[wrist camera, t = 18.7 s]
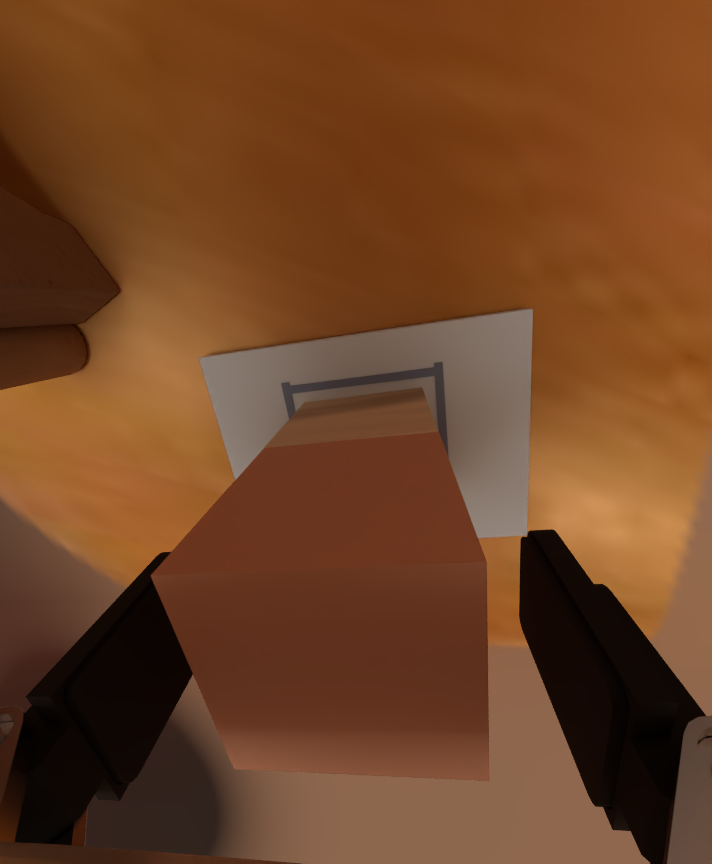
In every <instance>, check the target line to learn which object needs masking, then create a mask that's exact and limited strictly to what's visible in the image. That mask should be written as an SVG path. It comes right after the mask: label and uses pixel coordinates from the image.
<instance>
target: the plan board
mask: <svg viewBox="0 0 712 864" xmlns="http://www.w3.org/2000/svg"><path fill="white" fill-rule="evenodd" d="M532 325H533V309H527V308H524V309H517V310H511V311H504V312H497V313H490V314H484V315H477V316H470V317H463V318H457V319H450V320H443V321H436V322H430V323H423V324H416V325H409V326H403V327H396V328H389V329H382V330H375V331H369V332H362V333H355V334H348V335H342V336H335V337H328V338H321V339H315V340H308V341H301V342H294V343H288V344H281V345H274V346H267V347H261V348H254V349H247V350H240V351H234V352H227V353H220V354H213V355H207V356H204V357H200V358H199V361H200V365H201V368H202V371H203V375H204V378H205V381H206V385H207V388H208V391H209V394H210V398H211V401H212V404H213V408H214V411H215V414H216V418H217V421H218V424H219V428H220V431H221V434H222V438H223V441H224V444H225V448H226V451H227V454H228V458H229V461H230V464H231V468H232V471H233V474H234V477H235V480H236V479H237V478H238V477H239V476H240V474H241V473H242V472H243V471H244V470H245V469H246V468H247V467H248V465H249V464H250V463H251V462H252V461H253V460H254V459H255V458H256V457H257V455H258V454H259V453H260V452H261V451H262V450H263V448H264V447H265V446H266V445H267V444H268V442H269V441H270V440H271V439H272V438H273V437H274V436H275V435H276V433H277V432H278V431H279V430H280V429H281V428H282V427H283V426H284V425H285V423H286V422H287V421H288V420H289V419H290V418H291V417H292V416H293V414H294V413H295V412H296V411H297V410H298V409H299V408H300V407H301V405H302V404H303V403H304V402H312V401H319V400H327V399H335V398H343V397H350V396H358V395H366V394H374V393H381V392H389V391H397V390H405V389H412V388H420V387H422V388H423V391H424V394H425V397H426V399H427V402H428V405H429V408H430V411H431V413H432V416H433V419H434V422H435V424H436V427H437V432H439V433H440V436H441V439H442V442H443V444H444V447H445V450H446V453H447V455H448V458H449V461H450V464H451V466H452V469H453V472H454V474H455V477H456V480H457V483H458V485H459V488H460V491H461V494H462V496H463V499H464V502H465V505H466V507H467V510H468V513H469V515H470V518H471V521H472V524H473V526H474V529H475V532H476V535H477V537H478V538H489V537H506V536H524V535H527V519H528V480H529V442H530V403H531V364H532Z"/></svg>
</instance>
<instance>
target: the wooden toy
mask: <svg viewBox="0 0 712 864" xmlns="http://www.w3.org/2000/svg"><path fill="white" fill-rule="evenodd" d="M118 292H119V289H118V287H117V285H116V284H115V283H114V281H113V280H112V279H111V277H110V276H109V275H108V273H107V272H106V271H105V269H104V268H103V267H102V265H101V264H100V263H99V261H98V260H97V259H96V257H95V256H94V255H93V253H92V252H91V251H90V249H89V248H88V247H87V245H86V244H85V243H84V241H83V240H82V239H81V237H80V236H79V235H78V233H77V232H76V231H75V229H74V228H73V227H72V226H71V225H70V224H68V223H67V222H64V221H61V220H59V219H56V218H54V217H51V216H49V215H46V214H44V213H42V212H41V211H39V210H37V209H36V208H34V207H33V206H31V205H29V204H28V203H26V202H25V201H23V200H21V199H20V198H18V197H17V196H15V195H13V194H12V193H10V192H9V191H7V190H6V189H4V188H3V187H2V186H1V185H0V390H2V389H7V388H11V387H16V386H21V385H25V384H30V383H34V382H39V381H43V380H48V379H52V378H57V377H62V376H66V375H71V374H73V373H75V372H77V371H79V370H80V369H81V367H82V366H83V365H84V364H85V361H86V358H87V347H86V344H85V341H84V339H83V337H82V336H81V334H80V332H79V331H78V330H77V329H76V328H75V327H74V326H73V325H72V324H76V323H83V322H84V321H85V320H87V319H88V318H89V317H90V316H91V315H93V314H94V313H95V312H96V311H97V310H98V309H100V308H101V307H102V306H103V305H104V304H106V303H107V302H108V301H109V300H110V299H112V298H113V297H114V296H115V295H116V294H117V293H118Z"/></svg>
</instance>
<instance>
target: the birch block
mask: <svg viewBox="0 0 712 864" xmlns="http://www.w3.org/2000/svg"><path fill="white" fill-rule="evenodd" d="M429 432H437V427H436V424H435V422H434V419H433V416H432V413H431V411H430V408H429V405H428V402H427V399H426V397H425V394H424V391H423V388H422V387H420V388H412V389H405V390H397V391H389V392H381V393H374V394H366V395H358V396H350V397H343V398H335V399H327V400H319V401H312V402H304V403H303V404H302V405H301V407H300V408H299V409H298V410H297V411H296V412H295V413H294V414H293V416H292V417H291V418H290V419H289V420H288V421H287V422H286V423H285V425H284V426H283V427H282V428H281V429H280V430H279V431H278V432H277V433H276V435H275V436H274V437H273V438H272V439H271V440H270V441H269V442H268V444H267V445H266V446H265V447H264V448H270V447H281V446H291V445H302V444H312V443H323V442H334V441H344V440H355V439H365V438H376V437H387V436H397V435H408V434H418V433H429ZM264 448H263V449H264Z"/></svg>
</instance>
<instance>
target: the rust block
mask: <svg viewBox="0 0 712 864" xmlns="http://www.w3.org/2000/svg"><path fill="white" fill-rule="evenodd" d="M151 578H152V580H153V583H154V585H155V587H156V590H157V592H158V594H159V596H160V599H161V601H162V603H163V606H164V608H165V610H166V613H167V615H168V617H169V620H170V622H171V624H172V626H173V629H174V631H175V633H176V636H177V638H178V640H179V643H180V645H181V647H182V650H183V652H184V654H185V656H186V659H187V661H188V663H189V666H190V668H191V670H192V673H193V675H194V677H195V680H196V682H197V684H198V686H199V689H200V691H201V693H202V696H203V698H204V700H205V703H206V705H207V707H208V709H209V712H210V714H211V716H212V719H213V721H214V723H215V726H216V728H217V730H218V733H219V735H220V737H221V740H222V742H223V744H224V746H225V749H226V751H227V753H228V756H229V758H230V760H231V762H232V765H233V767H234V769H244V770H265V771H285V772H307V773H328V774H350V775H371V776H392V777H393V776H394V777H414V778H435V779H456V780H457V779H458V780H478V781H489V726H488V725H489V724H488V723H489V720H488V639H487V562H486V559H485V556H484V554H483V551H482V548H481V545H480V543H479V540H478V537H477V535H476V532H475V529H474V526H473V524H472V521H471V518H470V515H469V513H468V510H467V507H466V505H465V502H464V499H463V496H462V494H461V491H460V488H459V485H458V483H457V480H456V477H455V474H454V472H453V469H452V466H451V464H450V461H449V458H448V455H447V453H446V450H445V447H444V444H443V442H442V439H441V436H440V433H439V432H429V433H418V434H408V435H397V436H387V437H376V438H365V439H355V440H344V441H334V442H323V443H312V444H302V445H291V446H281V447H270V448H264V449H263V450H262V451H261V452H260V453H259V454H258V455H257V457H256V458H255V459H254V460H253V461H252V462H251V463H250V464H249V465H248V467H247V468H246V469H245V470H244V471H243V472H242V473H241V474H240V476H239V477H238V478H237V479H236V480H235V481H234V482H233V483H232V485H231V486H230V487H229V488H228V489H227V490H226V491H225V492H224V494H223V495H222V496H221V497H220V498H219V499H218V500H217V501H216V503H215V504H214V505H213V506H212V507H211V508H210V509H209V510H208V512H207V513H206V514H205V515H204V516H203V517H202V518H201V519H200V521H199V522H198V523H197V524H196V525H195V526H194V527H193V528H192V530H191V531H190V532H189V533H188V534H187V535H186V536H185V537H184V539H183V540H182V541H181V542H180V543H179V544H178V545H177V546H176V548H175V549H174V550H173V551H172V552H171V553H170V554H169V555H168V557H167V558H166V559H165V560H164V561H163V562H162V563H161V564H160V566H159V567H158V568H157V569H156V570H155V571H154V572H153V573H152V575H151Z"/></svg>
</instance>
